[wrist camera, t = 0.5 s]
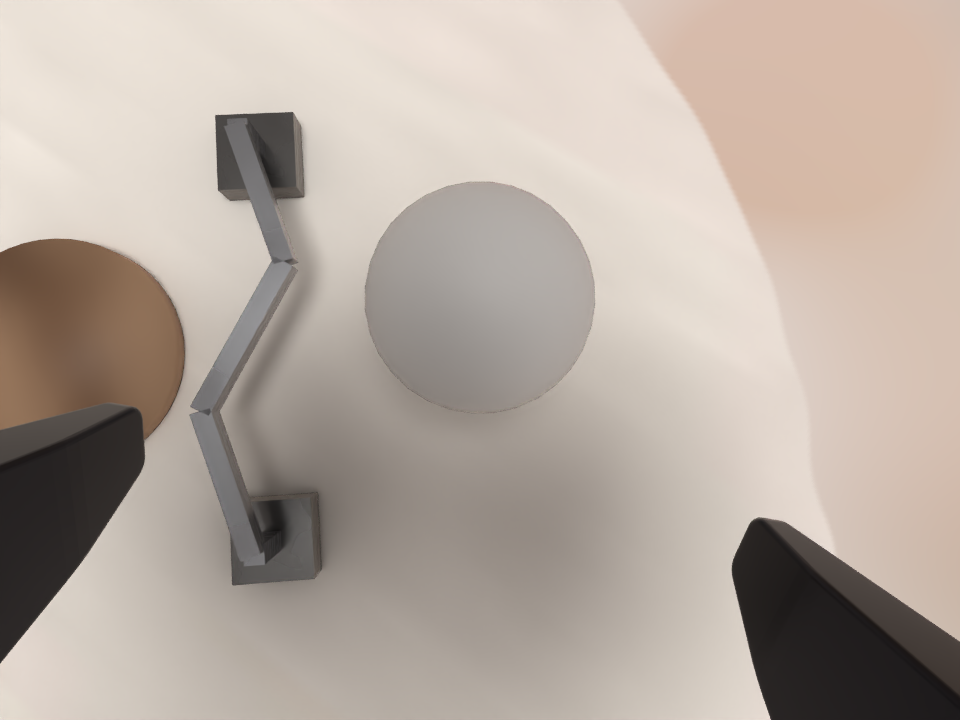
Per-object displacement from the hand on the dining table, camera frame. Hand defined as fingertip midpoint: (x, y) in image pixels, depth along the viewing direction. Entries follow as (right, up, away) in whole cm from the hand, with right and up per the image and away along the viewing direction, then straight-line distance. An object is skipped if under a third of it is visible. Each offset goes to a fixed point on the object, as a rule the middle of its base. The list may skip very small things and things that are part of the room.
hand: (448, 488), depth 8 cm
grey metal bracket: (-8, +3, +15) cm, 17 cm away
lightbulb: (0, +3, +15) cm, 15 cm away
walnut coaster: (-16, +2, +14) cm, 21 cm away
